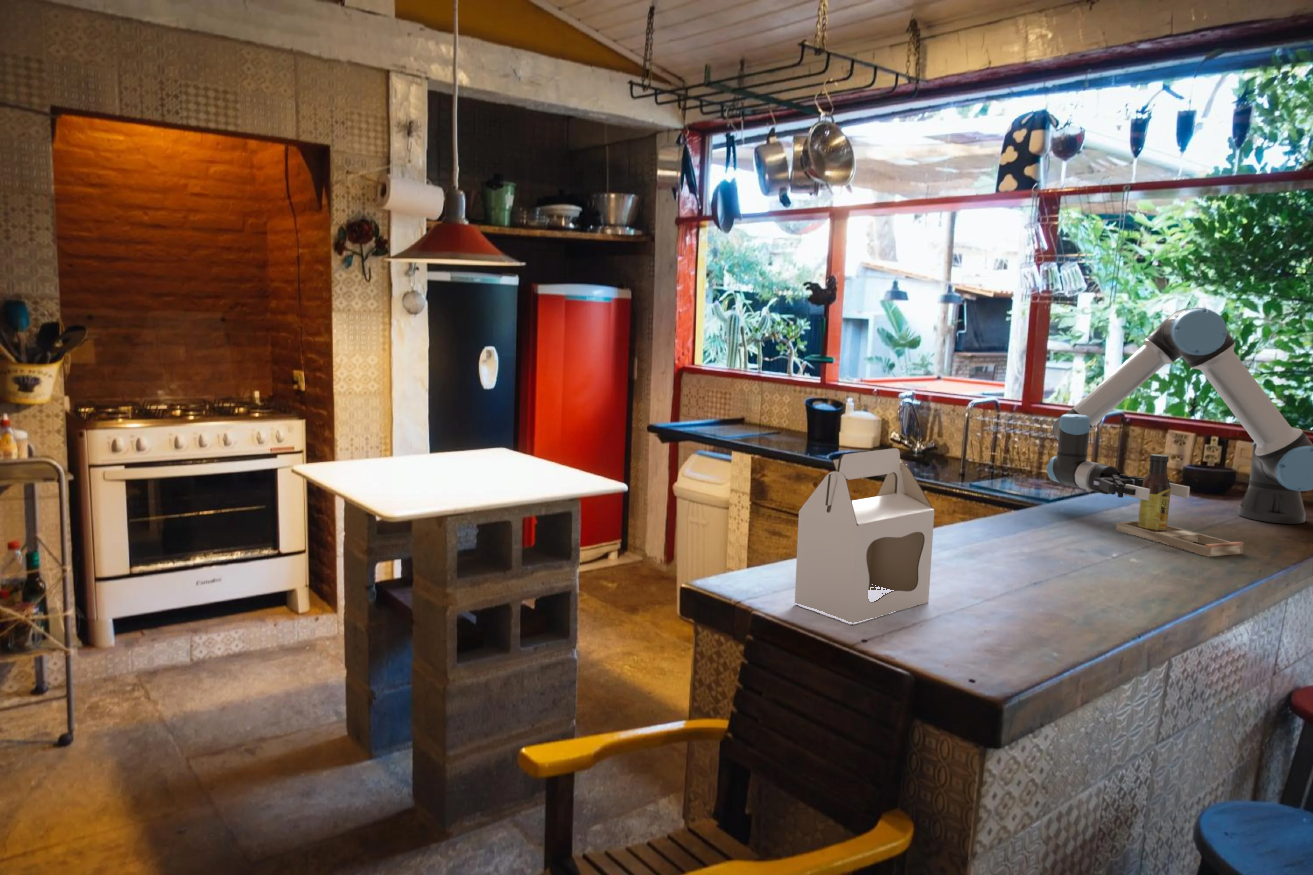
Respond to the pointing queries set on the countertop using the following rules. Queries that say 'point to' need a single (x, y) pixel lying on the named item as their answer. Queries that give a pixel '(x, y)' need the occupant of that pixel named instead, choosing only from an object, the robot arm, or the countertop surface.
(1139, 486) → the robot arm
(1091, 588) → the countertop surface
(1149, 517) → the sauce bottle
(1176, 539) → the bottle rack
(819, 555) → the gable box
